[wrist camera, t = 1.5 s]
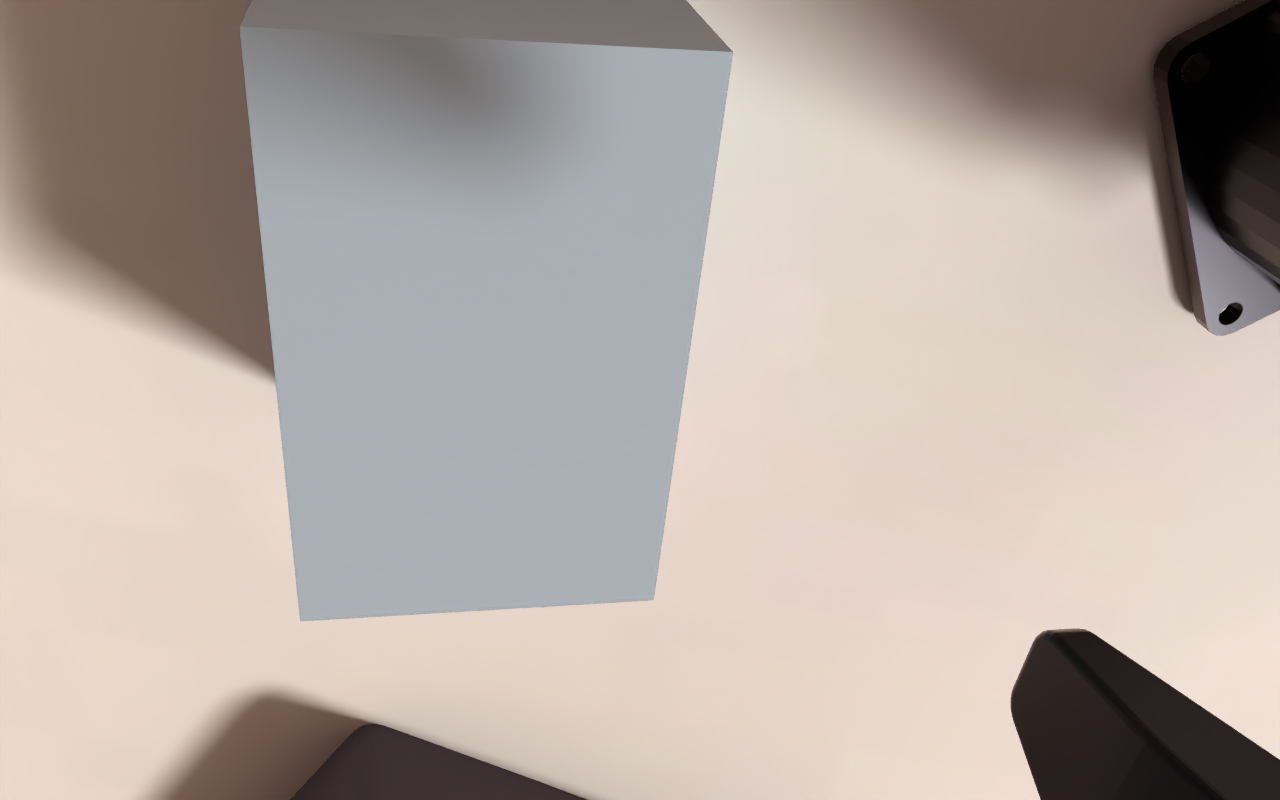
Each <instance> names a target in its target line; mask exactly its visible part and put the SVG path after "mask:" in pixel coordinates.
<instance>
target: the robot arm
mask: <svg viewBox="0 0 1280 800" xmlns="http://www.w3.org/2000/svg"><path fill="white" fill-rule="evenodd" d="M1193 55H1195V60H1194V64H1193V65H1192V67H1191V69H1190V70H1189V71H1188V72H1187V73H1185V74H1184V75H1183V76H1181V69H1182V67H1183V65H1184V64H1185V62H1186V61H1187V60H1188V59H1189V58H1190V57H1192V56H1193ZM1154 82H1155V88H1156V94H1157V100H1158V105H1159V111H1160V117H1161V123H1162V129H1163V135H1164V140H1165V146H1166V152H1167V158H1168V164H1169V170H1170V175H1171V181H1172V187H1173V193H1174V199H1175V205H1176V210H1177V216H1178V222H1179V228H1180V234H1181V240H1182V245H1183V251H1184V257H1185V263H1186V269H1187V275H1188V280H1189V286H1190V292H1191V298H1192V304H1193V310H1194V315H1195V318H1196V320H1197V322H1198V323H1200V324H1201V325H1202V326H1203V327H1205V328H1206V329H1207V330H1208V331H1210V332H1211V333H1213V334H1215V335H1227V334H1230V333H1233V332H1236V331H1238V330H1240V329H1242V328H1244V327H1246V326H1248V325H1250V324H1252V323H1254V322H1256V321H1258V320H1260V319H1262V318H1264V317H1266V316H1268V315H1270V314H1272V313H1275V312H1277V311H1279V310H1280V0H1245V1H1243V2H1241V3H1239V4H1237V5H1235V6H1233V7H1231V8H1229V9H1228V10H1226V11H1224V12H1222V13H1220V14H1218V15H1216V16H1214V17H1212V18H1210V19H1208V20H1206V21H1204V22H1203V23H1201V24H1199V25H1197V26H1195V27H1193V28H1191V29H1189V30H1187V31H1185V32H1183V33H1181V34H1180V35H1178V36H1176V37H1175V38H1173V39H1172V40H1171V41H1169V42H1168V43H1167V44H1166V45H1165V46H1164V47H1163V49H1162V50H1161V51H1160V53H1159V54H1158V56H1157V59H1156V61H1155V64H1154ZM1227 305H1228V306H1227ZM1226 306H1227V308H1226V309H1225V310H1224V311H1223V312H1221V311H1222V309H1223V308H1224V307H1226ZM1220 312H1221V313H1220ZM1011 712H1012V717H1013V721H1014V724H1015V727H1016V730H1017V732H1018V735H1019V738H1020V741H1021V744H1022V747H1023V750H1024V753H1025V756H1026V758H1027V761H1028V764H1029V767H1030V770H1031V773H1032V776H1033V779H1034V782H1035V784H1036V787H1037V790H1038V793H1039V796H1040V799H1041V800H1280V760H1279V759H1278V758H1276V757H1275V756H1273V755H1272V754H1270V753H1269V752H1268V751H1266V750H1265V749H1263V748H1262V747H1260V746H1259V745H1257V744H1256V743H1254V742H1253V741H1251V740H1250V739H1248V738H1247V737H1245V736H1244V735H1242V734H1241V733H1240V732H1238V731H1237V730H1235V729H1234V728H1232V727H1231V726H1229V725H1228V724H1226V723H1225V722H1223V721H1222V720H1220V719H1219V718H1217V717H1216V716H1214V715H1213V714H1211V713H1210V712H1209V711H1207V710H1206V709H1204V708H1203V707H1201V706H1200V705H1198V704H1197V703H1195V702H1194V701H1192V700H1191V699H1189V698H1188V697H1186V696H1185V695H1183V694H1182V693H1181V692H1179V691H1178V690H1176V689H1175V688H1173V687H1172V686H1170V685H1169V684H1167V683H1166V682H1164V681H1163V680H1161V679H1160V678H1158V677H1157V676H1155V675H1154V674H1152V673H1151V672H1150V671H1148V670H1147V669H1145V668H1144V667H1142V666H1141V665H1139V664H1138V663H1136V662H1135V661H1133V660H1132V659H1130V658H1129V657H1127V656H1126V655H1124V654H1123V653H1122V652H1120V651H1119V650H1117V649H1116V648H1114V647H1113V646H1111V645H1110V644H1108V643H1107V642H1105V641H1104V640H1102V639H1101V638H1099V637H1098V636H1096V635H1095V634H1093V633H1091V632H1090V631H1087V630H1084V629H1059V630H1047V631H1043V632H1042V633H1041V634H1039V635H1038V636H1037V637H1036V638H1035V640H1034V642H1033V644H1032V646H1031V648H1030V651H1029V653H1028V655H1027V657H1026V660H1025V662H1024V664H1023V667H1022V669H1021V671H1020V673H1019V676H1018V678H1017V680H1016V683H1015V685H1014V687H1013V690H1012V694H1011Z"/></svg>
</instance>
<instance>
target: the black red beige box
mask: <svg viewBox="0 0 1280 800" xmlns="http://www.w3.org/2000/svg"><path fill="white" fill-rule="evenodd" d="M291 800H583V799H580V798H578V797H576V796H573V795H571V794H568V793H566V792H563V791H561V790H558V789H556V788H553V787H551V786H548V785H545V784H543V783H540V782H538V781H535V780H532V779H530V778H527V777H524V776H522V775H519V774H516V773H513V772H511V771H508V770H505V769H502V768H500V767H497V766H494V765H491V764H489V763H486V762H483V761H480V760H477V759H475V758H472V757H469V756H466V755H464V754H461V753H458V752H455V751H453V750H450V749H447V748H444V747H442V746H439V745H436V744H433V743H431V742H428V741H425V740H422V739H419V738H417V737H414V736H411V735H408V734H406V733H403V732H400V731H397V730H394V729H392V728H389V727H386V726H382V725H376V724H371V725H365V726H362V727H360V728H358V729H357V730H355V731H354V732H353V733H352V734H351V735H350V736H349V737H348V738H347V739H346V740H345V741H344V742H343V743H342V745H341V746H340V747H339V748H338V749H337V750H336V751H335V752H334V753H333V754H332V755H331V756H330V758H329V759H328V760H327V761H326V762H325V763H324V764H323V765H322V766H321V767H320V768H319V769H318V771H317V772H316V773H315V774H314V775H313V776H312V777H311V778H310V779H309V780H308V781H307V783H306V784H305V785H304V786H303V787H302V788H301V789H300V790H299V791H298V792H297V793H296V794H295V796H294V797H293V798H292V799H291Z"/></svg>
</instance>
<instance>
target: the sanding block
mask: <svg viewBox="0 0 1280 800" xmlns="http://www.w3.org/2000/svg"><path fill="white" fill-rule="evenodd" d="M239 30H240V39H241V49H242V59H243V69H244V78H245V88H246V98H247V108H248V117H249V127H250V137H251V147H252V156H253V166H254V176H255V186H256V195H257V205H258V215H259V225H260V234H261V244H262V254H263V263H264V273H265V283H266V293H267V302H268V312H269V322H270V332H271V341H272V351H273V361H274V371H275V380H276V390H277V400H278V410H279V419H280V429H281V439H282V449H283V458H284V468H285V478H286V487H287V497H288V507H289V517H290V526H291V536H292V546H293V556H294V565H295V575H296V585H297V595H298V604H299V614H300V621H313V620H330V619H347V618H363V617H380V616H397V615H414V614H430V613H447V612H464V611H481V610H497V609H514V608H531V607H548V606H564V605H581V604H598V603H615V602H632V601H648V600H654V594H655V587H656V580H657V573H658V566H659V559H660V552H661V545H662V538H663V531H664V525H665V518H666V511H667V504H668V497H669V490H670V483H671V476H672V469H673V462H674V456H675V449H676V442H677V435H678V428H679V421H680V414H681V407H682V400H683V393H684V387H685V380H686V373H687V366H688V359H689V352H690V345H691V338H692V331H693V325H694V318H695V311H696V304H697V297H698V290H699V283H700V276H701V269H702V262H703V256H704V249H705V242H706V235H707V228H708V221H709V214H710V207H711V200H712V193H713V187H714V180H715V173H716V166H717V159H718V152H719V145H720V138H721V131H722V124H723V118H724V111H725V104H726V97H727V90H728V83H729V76H730V69H731V62H732V55H733V52H732V51H731V49H730V48H729V47H728V46H727V45H726V44H725V43H724V42H723V41H722V40H721V38H720V37H719V36H718V35H717V34H716V33H715V32H714V31H713V30H712V28H711V27H710V26H709V25H708V24H707V23H706V22H705V21H704V20H703V19H702V17H701V16H700V15H699V14H698V13H697V12H696V11H695V10H694V9H693V8H692V6H691V5H690V4H689V3H688V2H687V1H686V0H251V3H250V5H249V7H248V9H247V11H246V13H245V15H244V17H243V20H242V22H241V24H240V26H239Z"/></svg>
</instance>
